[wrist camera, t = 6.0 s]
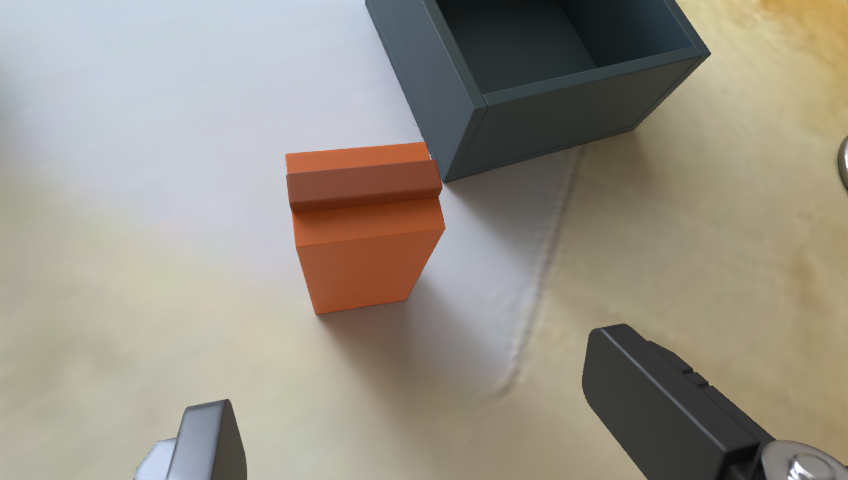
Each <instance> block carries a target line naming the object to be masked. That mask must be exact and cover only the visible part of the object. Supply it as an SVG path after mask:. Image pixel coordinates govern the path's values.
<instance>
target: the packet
mask: <svg viewBox="0 0 848 480" xmlns="http://www.w3.org/2000/svg"><path fill="white" fill-rule="evenodd" d="M285 157H286V166H287V175H286V178H287V187H288V196H289V204H290V208H291V211H292V219H293V228H294V236H295V245H296V250H297V253H298V257H299V260H300V263H301V267H302V270H303V274H304V277H305V281H306V284H307V288H308V291H309V295H310V298H311V301H312V305H313V308H314V312H315V314H316V315H317V314H323V313H329V312H335V311H342V310H348V309H354V308H360V307H366V306H373V305H379V304H385V303H391V302H397V301H404V300H406V299H407V297H408V296H409V294H410V292H411V290H412V288H413V287H414V285H415V283H416V281H417V279H418V277H419V276H420V274H421V272H422V270H423V268H424V266H425V265H426V263H427V261H428V259H429V257H430V256H431V254H432V252H433V250H434V248H435V246H436V245H437V243H438V241H439V239H440V237H441V235H442V234H443V232H444V230H445V223H444V219H443V215H442V210H441V206H440V202H439V197H438V196H439V195H440V192H441V190H442V183H441V179H440V174H439V170H438V166H437V162H436V160H435V159H432V160H430V158H429V153H428V149H427V145H426V142H419V143H408V144H396V145H384V146H372V147H360V148H349V149H337V150H325V151H313V152H302V153H290V154H286V155H285Z"/></svg>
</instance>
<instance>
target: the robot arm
mask: <svg viewBox="0 0 848 480" xmlns="http://www.w3.org/2000/svg"><path fill="white" fill-rule="evenodd" d="M838 161H839V168H840V172H841V175H842V178H843V180H844V182H845V184H846V186H847V188H848V136H847V137H846V138H845V139H844V140H843V142H842V143H841V146H840V149H839V154H838ZM582 388H583V392H584V395H585V398H586V400H587V402H588V404H589V405H590V407H591V408H592V409H593V411H594V412H595V413H596V415H597V416H598V417H599V418H600V420H601V421H602V422H603V423H604V425H605V426H606V427H607V429H608V430H609V431H610V432H611V434H612V435H613V436H614V437H615V439H616V440H617V441H618V443H619V444H620V445H621V446H622V448H623V449H624V450H625V451H626V453H627V454H628V455H629V457H630V458H631V459H632V460H633V462H634V463H635V464H636V465H637V467H638V468H639V469H640V471H641V472H642V473H643V474H644V476H645V477H646V478H647V479H648V480H848V466H844V465H843V464H842V463H840V462H839V461H838V460H836V459H835V458H833V457H832V456H830V455H828V454H827V453H825V452H823V451H821V450H819V449H817V448H815V447H812V446H809V445H807V444H803V443H800V442H796V441H790V440H776V439H775V438H773V437H772V436H771V435H770V434H768V433H767V432H766V431H765V430H764V429H763V428H761V427H760V426H759V425H758V424H757V423H756V422H754V421H753V420H752V419H751V418H750V417H749V416H747V415H746V414H745V413H744V412H743V411H742V410H740V409H739V408H738V407H737V406H736V405H735V404H733V403H732V402H731V401H730V400H729V399H727V398H726V397H725V396H724V395H723V394H722V393H720V392H719V391H718V390H717V389H716V388H715V387H713V386H709V384H708V381H706V380H705V379H704V378H703V377H702V376H701V375H699V374H698V373H697V372H695V373H694V372H693V369H692V368H691V367H690V366H689V365H688V364H687V363H685V362H684V361H683V360H682V359H681V358H679V357H678V356H677V355H676V354H675V353H673V352H671V351H669V350H667V349H666V348H664V347H662V346H660V345H658V344H656V343H654V342H652V341H646V340H645V339H644V338H643V337H642V336H640V335H639V334H638V333H637V332H636V331H635V330H634V329H633V328H631V327H630V326H629V325H627V324H617V325H612V326H607V327H601V328H596V329H593V330H592V331H591V332H590V334H589V338H588V344H587V351H586V357H585V363H584V369H583V376H582ZM133 480H247V464H246V457H245V452H244V448H243V444H242V441H241V437H240V433H239V430H238V426H237V422H236V419H235V415H234V411H233V408H232V404H231V402H230V400H229V399H225V400H220V401H215V402H210V403H205V404H200V405H194V406H189V407H187V408H186V409H185V411H184V414H183V418H182V421H181V425H180V429H179V432H178V436H177V438H172V439H167V440H163V441H158V442H157V443H156V444H155V445H154V447H153V448H152V449H151V450H150V452H149V453H148V454H147V456H146V457H145V458H144V459H143V461H142V462H141V463H140V464H139V466H138V467H137V469H136V471H135V474H134V477H133Z"/></svg>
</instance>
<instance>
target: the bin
mask: <svg viewBox="0 0 848 480" xmlns="http://www.w3.org/2000/svg"><path fill="white" fill-rule="evenodd" d="M365 4H366V7H367V9H368V11H369V14H370V16H371V18H372V20H373V23H374V25H375V27H376V30H377V32H378V34H379V37H380V39H381V41H382V44H383V46H384V48H385V50H386V53H387V55H388V57H389V60H390V62H391V64H392V67H393V69H394V71H395V74H396V76H397V78H398V80H399V83H400V85H401V87H402V90H403V92H404V94H405V97H406V99H407V101H408V104H409V106H410V108H411V111H412V113H413V115H414V117H415V120H416V122H417V124H418V127H419V129H420V131H421V134H422V136H423V138H424V141H425V142H426V145H427V147H428V150H429V152H430V154H431V157H432V159H435V160H436V162H437V166H438V170H439V174H440V177H441V180H442V182H443V183H445V182H449V181H452V180H456V179H460V178H463V177H467V176H470V175H474V174H477V173H481V172H485V171H488V170H492V169H495V168H499V167H502V166H506V165H510V164H513V163H517V162H520V161H524V160H527V159H531V158H535V157H538V156H542V155H545V154H549V153H552V152H556V151H560V150H563V149H567V148H570V147H574V146H577V145H581V144H584V143H588V142H592V141H595V140H599V139H602V138H606V137H609V136H613V135H617V134H620V133H624V132H627V131H631V130H634V129H635V128H636V127H637V126H638V125H639V124H640V123H641V122H642V121H643V120H644V119H645V118H646V117H647V116H648V115H649V114H650V113H651V112H652V111H653V110H654V109H656V108H657V107H658V106H659V105H660V104H661V103H662V102H663V101H664V100H665V99H666V98H667V97H668V96H669V95H670V94H671V93H672V92H673V91H674V90H675V89H676V88H677V87H678V86H679V85H680V84H681V83H682V82H683V81H684V80H685V79H686V78H687V77H688V76H689V75H690V74H691V73H692V72H693V71H694V70H695V69H696V68H697V67H698V66H699V65H700V64H701V63H703V62H704V61H705V60H706V59H707V58H708V57H709V56H710V55H711V52H710V51H709V50H708V48H707V47H706V45H705V44H704V42H703V41H702V39H701V38H700V36H699V35H698V33H697V32H696V31H695V29H694V28H693V26H692V25H691V23H690V22H689V20H688V19H687V17H686V16H685V14H684V13H683V11H682V10H681V9H680V7H679V6H678V4H677V3H676V1H675V0H365Z"/></svg>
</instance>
